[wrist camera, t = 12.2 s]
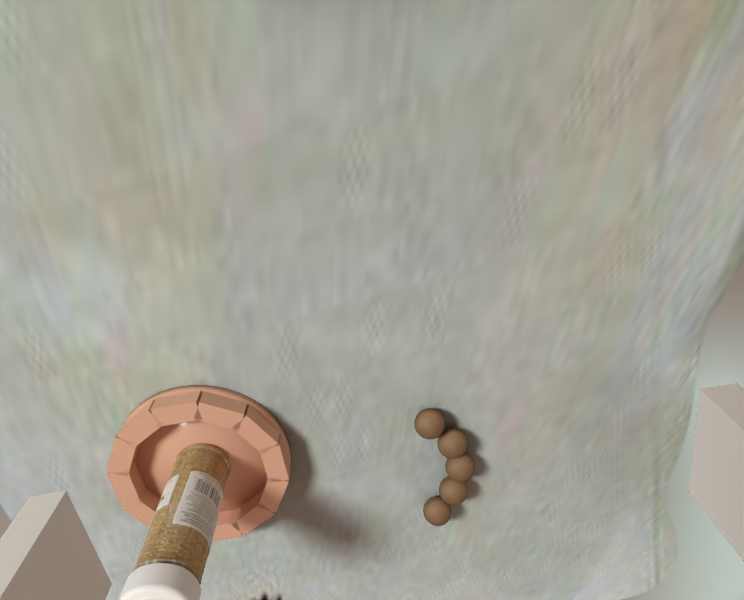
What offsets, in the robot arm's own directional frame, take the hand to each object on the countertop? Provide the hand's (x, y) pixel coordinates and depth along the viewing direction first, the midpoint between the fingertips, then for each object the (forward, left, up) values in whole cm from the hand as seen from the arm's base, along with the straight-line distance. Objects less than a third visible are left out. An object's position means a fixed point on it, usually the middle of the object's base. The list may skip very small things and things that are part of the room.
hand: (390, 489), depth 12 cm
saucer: (+20, -16, -29) cm, 38 cm away
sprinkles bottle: (+20, -16, -28) cm, 38 cm away
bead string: (+24, +4, -29) cm, 37 cm away
